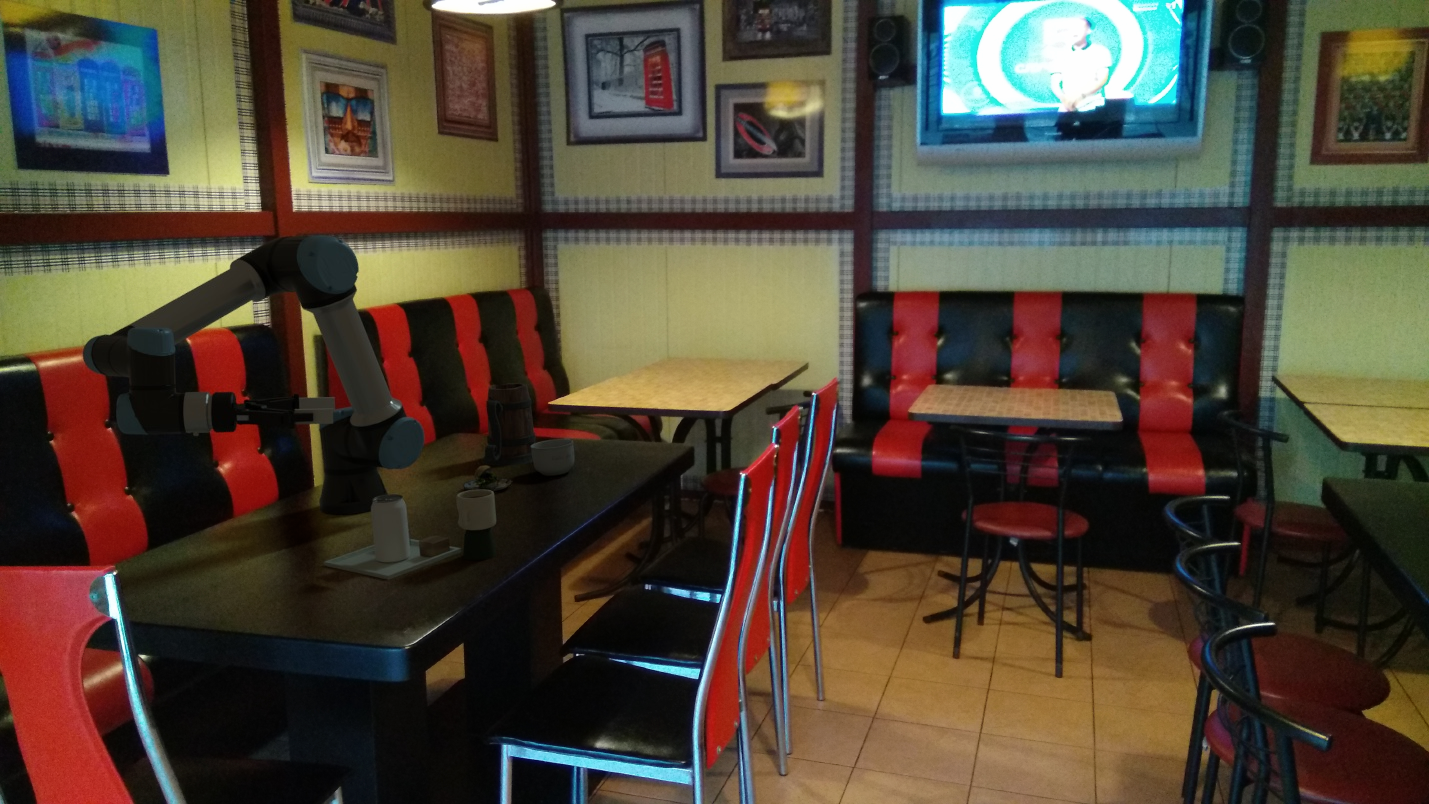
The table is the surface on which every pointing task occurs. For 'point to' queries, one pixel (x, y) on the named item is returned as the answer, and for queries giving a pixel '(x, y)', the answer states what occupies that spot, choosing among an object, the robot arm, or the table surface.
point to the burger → (486, 480)
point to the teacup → (553, 456)
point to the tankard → (509, 425)
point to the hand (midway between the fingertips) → (334, 409)
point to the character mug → (477, 523)
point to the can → (390, 528)
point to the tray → (368, 565)
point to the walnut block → (433, 546)
